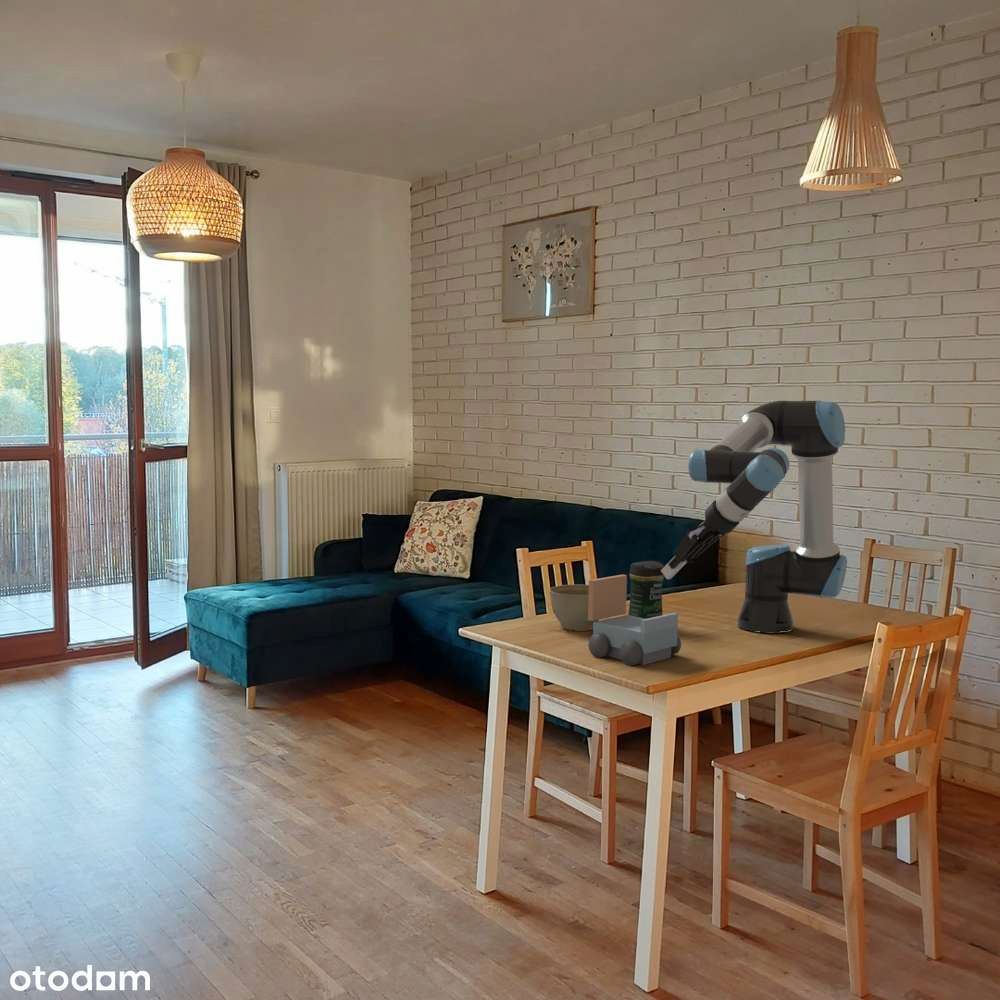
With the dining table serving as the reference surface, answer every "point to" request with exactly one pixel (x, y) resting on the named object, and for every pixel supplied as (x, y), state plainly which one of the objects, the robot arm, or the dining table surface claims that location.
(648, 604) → the coffee jar
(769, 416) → the robot arm
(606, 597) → the tailgate
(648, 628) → the flatbed
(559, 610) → the planter bowl
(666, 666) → the dining table surface
